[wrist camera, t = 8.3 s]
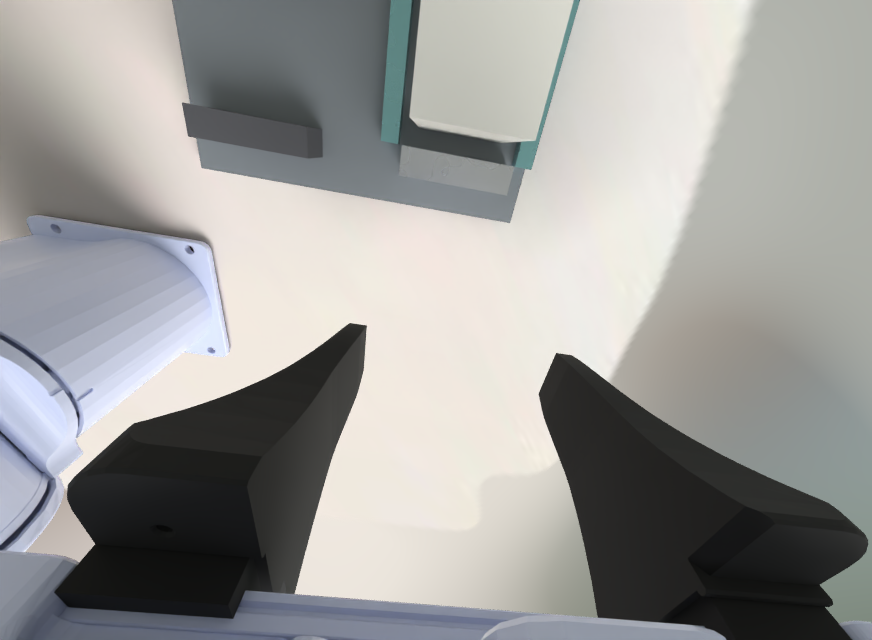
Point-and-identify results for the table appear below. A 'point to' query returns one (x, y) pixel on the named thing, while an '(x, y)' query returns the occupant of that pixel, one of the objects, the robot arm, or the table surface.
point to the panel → (322, 98)
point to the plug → (486, 66)
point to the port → (439, 163)
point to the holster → (253, 131)
